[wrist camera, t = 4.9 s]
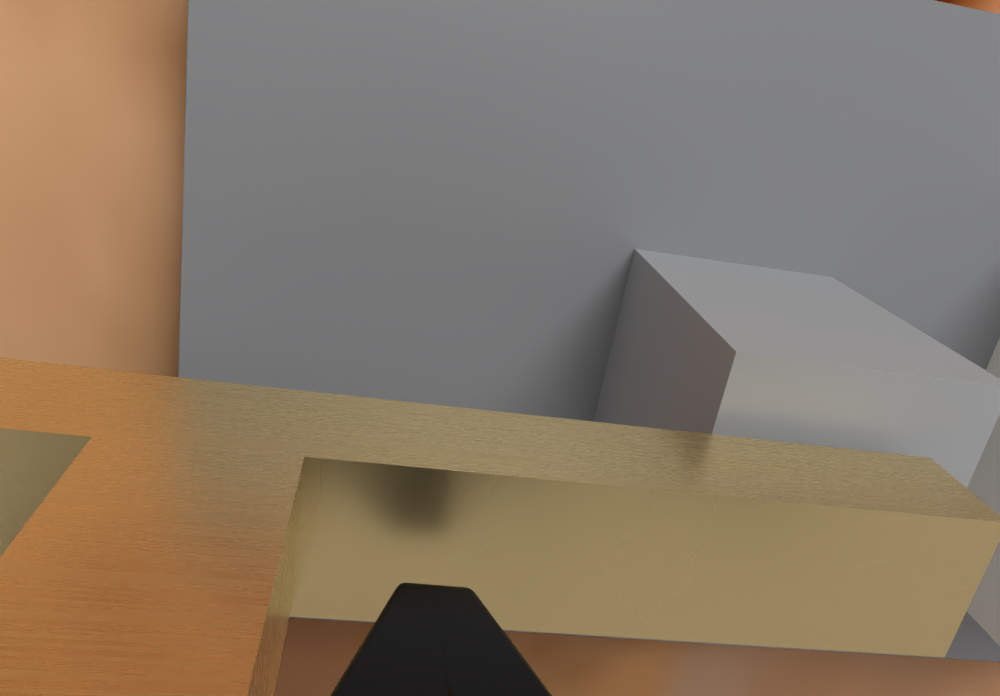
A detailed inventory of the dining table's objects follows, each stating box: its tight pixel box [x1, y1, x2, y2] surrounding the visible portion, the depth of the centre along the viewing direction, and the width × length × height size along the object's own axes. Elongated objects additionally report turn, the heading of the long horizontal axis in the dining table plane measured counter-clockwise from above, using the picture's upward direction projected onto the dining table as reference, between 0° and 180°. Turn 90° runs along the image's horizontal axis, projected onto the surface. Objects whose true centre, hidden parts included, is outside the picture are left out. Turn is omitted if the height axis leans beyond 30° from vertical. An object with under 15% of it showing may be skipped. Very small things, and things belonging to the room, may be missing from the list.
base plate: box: [178, 0, 1000, 662], centre depth 14 cm, size 14×24×6 cm, turn 80°
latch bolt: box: [0, 358, 1000, 696], centre depth 8 cm, size 2×12×5 cm, turn 80°
